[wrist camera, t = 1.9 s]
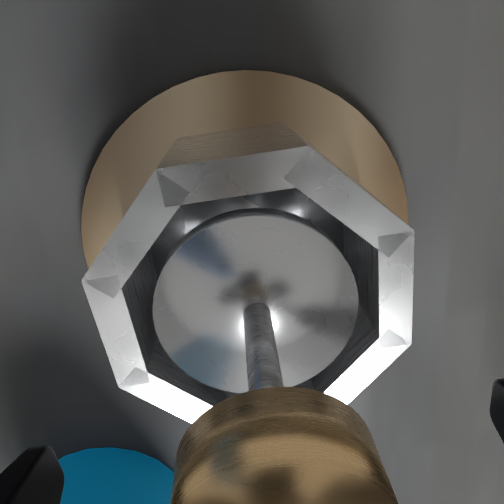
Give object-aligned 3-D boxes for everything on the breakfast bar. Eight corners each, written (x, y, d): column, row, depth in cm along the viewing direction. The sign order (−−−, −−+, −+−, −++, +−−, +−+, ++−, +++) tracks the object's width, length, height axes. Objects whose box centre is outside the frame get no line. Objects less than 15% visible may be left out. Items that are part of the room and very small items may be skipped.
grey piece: (357, 110, 15) (417, 129, 10) (366, 380, 20) (407, 473, 15) (102, 148, 15) (47, 185, 10) (176, 408, 20) (161, 509, 15)
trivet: (406, 43, 14) (412, 42, 14) (401, 345, 20) (405, 352, 19) (37, 99, 14) (31, 100, 14) (132, 386, 20) (130, 393, 19)
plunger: (346, 192, 12) (510, 363, 5) (354, 362, 14) (470, 629, 7) (134, 224, 12) (12, 436, 5) (179, 388, 14) (137, 677, 7)
